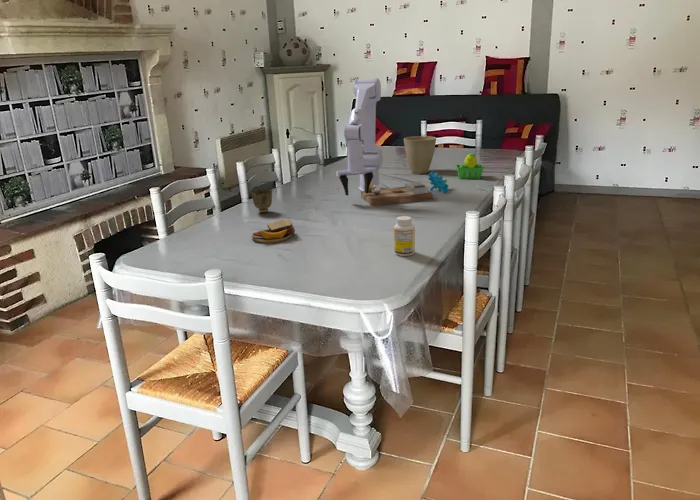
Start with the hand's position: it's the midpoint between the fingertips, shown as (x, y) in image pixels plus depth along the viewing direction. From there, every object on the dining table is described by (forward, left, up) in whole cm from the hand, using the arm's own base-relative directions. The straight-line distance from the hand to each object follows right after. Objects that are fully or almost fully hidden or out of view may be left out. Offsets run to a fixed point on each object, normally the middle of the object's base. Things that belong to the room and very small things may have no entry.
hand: (356, 193), depth 211 cm
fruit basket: (-23, +58, -4) cm, 62 cm away
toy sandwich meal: (+31, -36, -4) cm, 48 cm away
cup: (0, -35, -4) cm, 35 cm away
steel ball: (0, +8, +1) cm, 8 cm away
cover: (+2, +23, -1) cm, 23 cm away
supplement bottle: (+61, -3, -4) cm, 61 cm away
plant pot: (-44, +43, -4) cm, 61 cm away
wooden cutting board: (0, +16, -3) cm, 16 cm away
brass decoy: (-5, +6, +1) cm, 8 cm away
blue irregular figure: (-5, +35, -4) cm, 36 cm away
